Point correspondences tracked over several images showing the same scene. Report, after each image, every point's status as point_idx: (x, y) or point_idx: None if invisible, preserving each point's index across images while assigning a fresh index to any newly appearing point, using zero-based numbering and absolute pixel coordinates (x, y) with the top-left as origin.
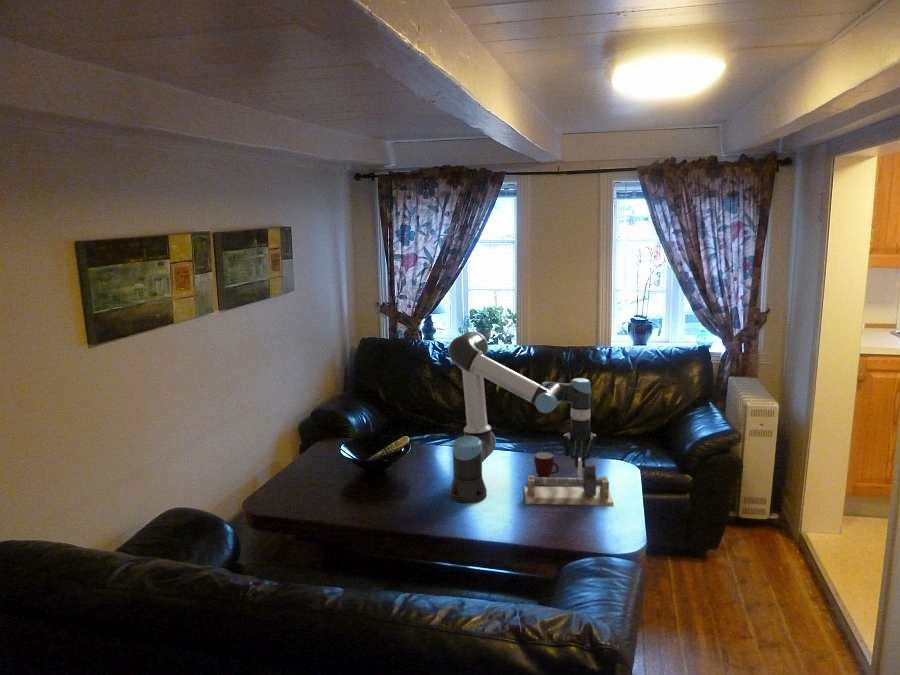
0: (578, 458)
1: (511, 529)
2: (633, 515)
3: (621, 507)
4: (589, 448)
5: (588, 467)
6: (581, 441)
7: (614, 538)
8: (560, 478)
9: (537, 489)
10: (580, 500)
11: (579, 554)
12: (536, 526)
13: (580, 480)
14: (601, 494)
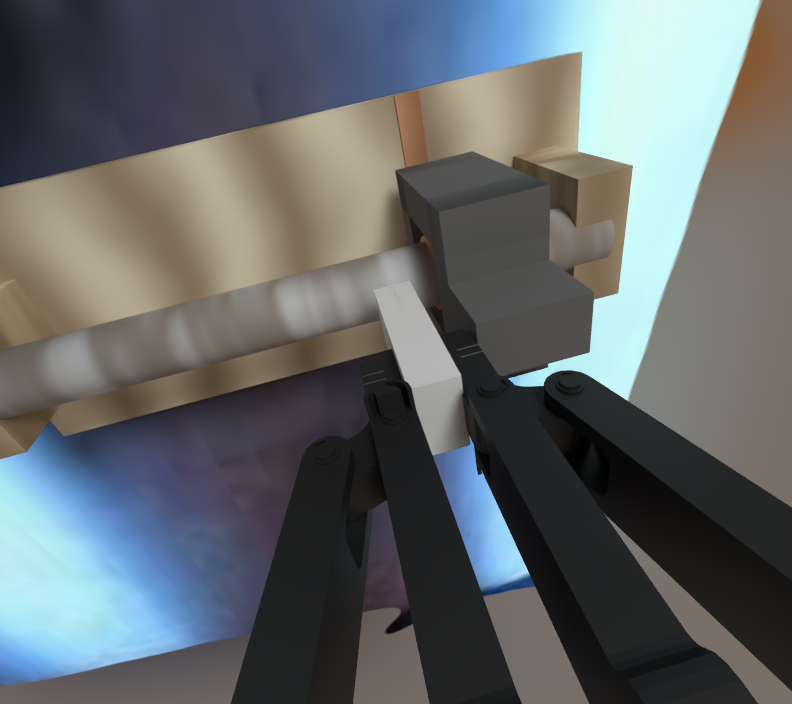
0: (422, 397)
1: (149, 604)
2: (627, 365)
3: (596, 304)
4: (679, 573)
5: (511, 365)
6: (623, 692)
7: None
8: (225, 351)
9: (33, 252)
10: None
11: (410, 616)
12: (234, 561)
13: None
14: None
